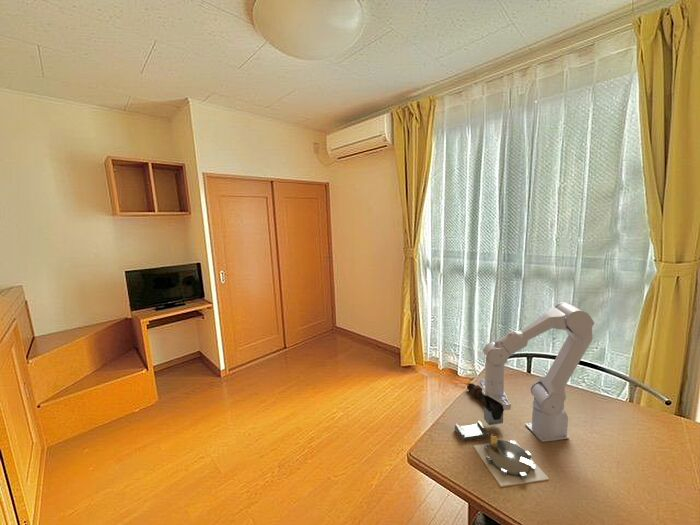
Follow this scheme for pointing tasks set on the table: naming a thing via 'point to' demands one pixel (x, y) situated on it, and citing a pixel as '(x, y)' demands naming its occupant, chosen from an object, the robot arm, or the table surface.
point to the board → (509, 479)
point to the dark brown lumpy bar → (475, 391)
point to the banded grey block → (491, 416)
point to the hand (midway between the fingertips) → (493, 415)
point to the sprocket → (509, 457)
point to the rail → (471, 431)
